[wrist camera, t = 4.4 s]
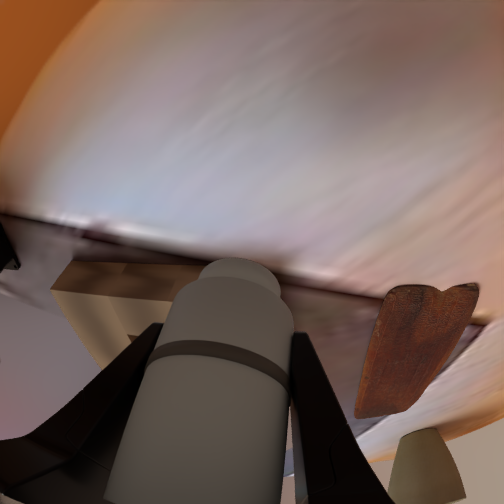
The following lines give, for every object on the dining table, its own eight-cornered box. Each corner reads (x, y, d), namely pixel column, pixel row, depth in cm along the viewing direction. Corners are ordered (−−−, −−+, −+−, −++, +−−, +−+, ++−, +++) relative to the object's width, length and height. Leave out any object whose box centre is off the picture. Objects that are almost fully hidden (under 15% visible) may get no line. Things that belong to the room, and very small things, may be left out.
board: (120, 351, 34) (108, 378, 31) (71, 260, 26) (49, 289, 22) (270, 368, 31) (267, 401, 28) (265, 267, 23) (260, 306, 20)
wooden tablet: (381, 281, 24) (385, 295, 22) (480, 275, 22) (487, 288, 21) (344, 416, 39) (345, 426, 38) (408, 410, 37) (410, 419, 36)
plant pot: (400, 451, 50) (403, 517, 37) (367, 441, 45) (368, 521, 32) (463, 426, 42) (473, 497, 30) (443, 412, 37) (455, 501, 25)
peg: (194, 323, 13) (140, 511, 6) (172, 242, 10) (66, 482, 4) (294, 329, 12) (277, 536, 6) (297, 245, 10) (280, 536, 3)
